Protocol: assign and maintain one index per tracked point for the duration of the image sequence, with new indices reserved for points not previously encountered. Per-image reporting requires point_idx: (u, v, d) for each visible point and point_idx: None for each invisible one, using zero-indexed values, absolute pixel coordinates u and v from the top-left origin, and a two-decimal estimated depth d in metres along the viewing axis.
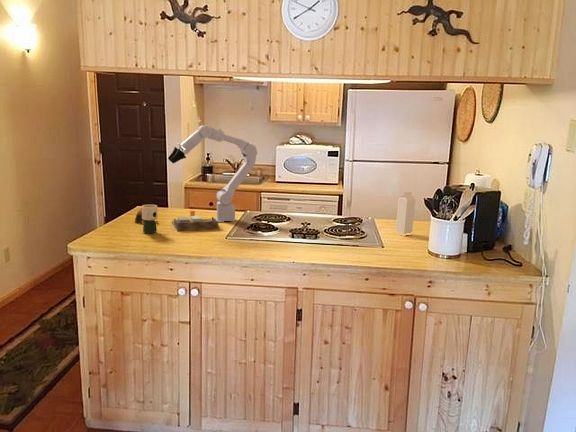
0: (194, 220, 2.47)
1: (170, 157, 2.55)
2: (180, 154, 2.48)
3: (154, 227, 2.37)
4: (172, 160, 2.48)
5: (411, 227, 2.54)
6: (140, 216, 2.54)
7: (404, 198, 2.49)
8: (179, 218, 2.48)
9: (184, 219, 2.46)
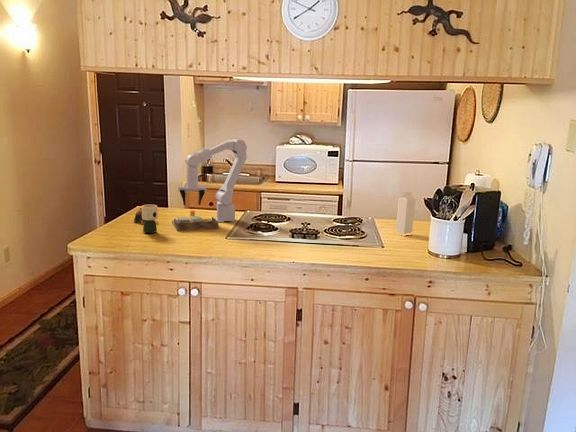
0: (194, 220, 2.47)
1: None
2: None
3: (154, 227, 2.37)
4: None
5: (411, 227, 2.54)
6: (139, 216, 2.54)
7: (404, 198, 2.49)
8: (179, 218, 2.48)
9: (184, 219, 2.46)
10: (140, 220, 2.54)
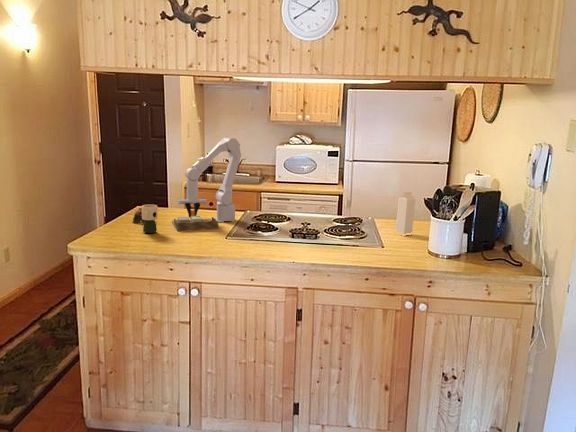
0: (194, 220, 2.47)
1: (190, 215, 2.59)
2: None
3: (154, 227, 2.37)
4: None
5: (411, 227, 2.54)
6: (138, 216, 2.54)
7: (404, 198, 2.49)
8: (179, 218, 2.48)
9: (184, 219, 2.46)
10: (139, 220, 2.54)
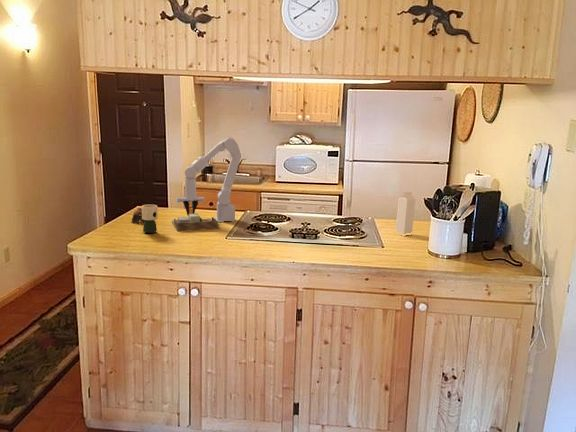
0: (192, 218, 2.52)
1: (188, 212, 2.64)
2: None
3: (154, 227, 2.37)
4: None
5: (411, 227, 2.54)
6: (136, 216, 2.54)
7: (404, 198, 2.49)
8: (179, 218, 2.48)
9: (184, 219, 2.46)
10: (138, 220, 2.54)
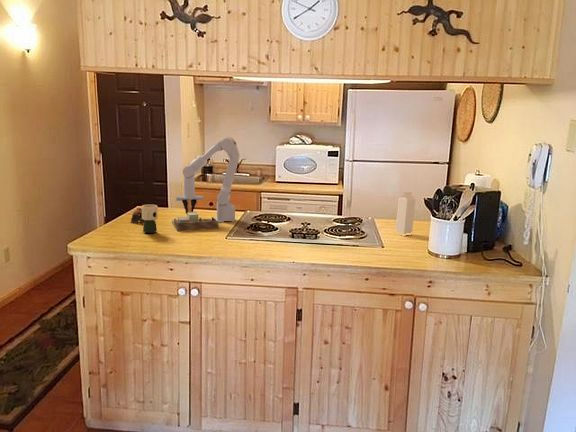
0: (191, 216, 2.56)
1: None
2: None
3: (154, 227, 2.37)
4: None
5: (411, 227, 2.54)
6: (136, 216, 2.54)
7: (404, 198, 2.49)
8: (179, 218, 2.48)
9: (184, 219, 2.46)
10: (137, 220, 2.54)
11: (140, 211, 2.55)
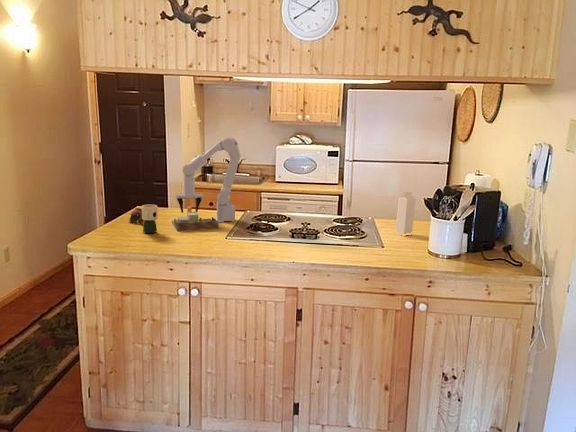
0: (191, 216, 2.56)
1: (182, 210, 2.66)
2: None
3: (154, 227, 2.37)
4: None
5: (411, 227, 2.54)
6: (134, 216, 2.54)
7: (404, 198, 2.49)
8: (179, 218, 2.48)
9: (184, 219, 2.46)
10: (136, 220, 2.53)
11: (138, 211, 2.55)
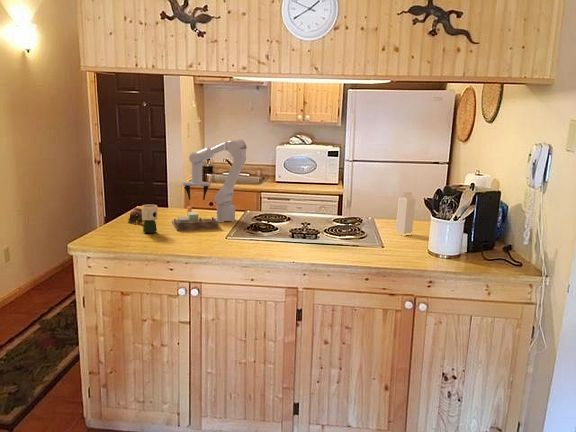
0: (191, 216, 2.56)
1: None
2: None
3: (154, 227, 2.37)
4: (204, 198, 2.73)
5: (411, 227, 2.54)
6: (133, 216, 2.54)
7: (404, 198, 2.49)
8: (179, 218, 2.48)
9: (184, 219, 2.46)
10: (135, 220, 2.53)
11: (138, 211, 2.55)
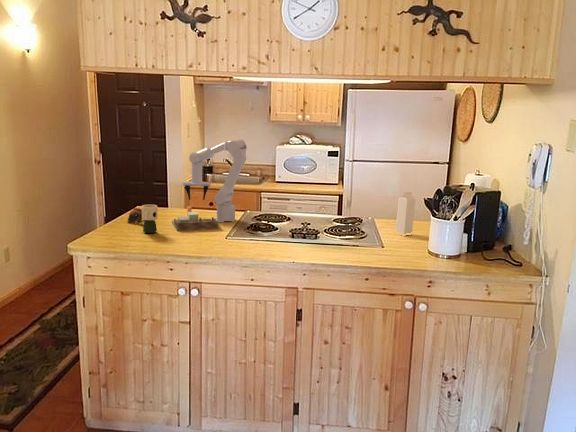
0: (191, 216, 2.56)
1: None
2: None
3: (154, 227, 2.37)
4: (204, 198, 2.73)
5: (411, 227, 2.54)
6: (133, 216, 2.54)
7: (404, 198, 2.49)
8: (179, 218, 2.48)
9: (184, 219, 2.46)
10: (134, 220, 2.53)
11: (137, 211, 2.55)
